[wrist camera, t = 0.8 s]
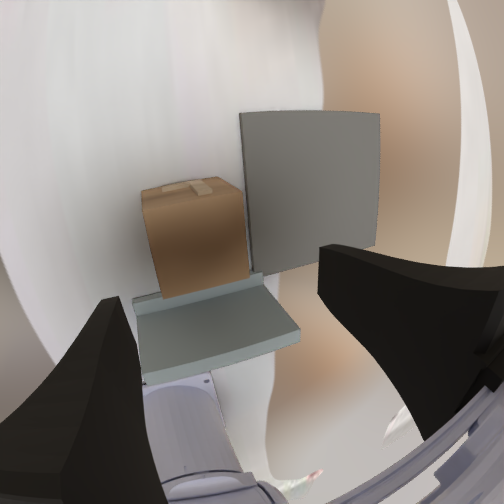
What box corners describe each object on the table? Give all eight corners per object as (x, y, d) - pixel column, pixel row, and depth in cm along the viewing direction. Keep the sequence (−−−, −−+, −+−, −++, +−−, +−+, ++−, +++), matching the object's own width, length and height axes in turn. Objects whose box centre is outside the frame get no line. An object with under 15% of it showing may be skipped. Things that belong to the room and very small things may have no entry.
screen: (261, 303, 22) (299, 353, 17) (144, 333, 20) (153, 396, 14) (259, 268, 21) (300, 315, 16) (132, 299, 18) (135, 361, 13)
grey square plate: (371, 243, 24) (374, 245, 24) (253, 276, 21) (255, 278, 21) (376, 113, 19) (379, 113, 19) (239, 113, 16) (241, 112, 16)
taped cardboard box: (225, 245, 19) (249, 277, 16) (155, 261, 18) (163, 299, 14) (216, 172, 17) (241, 187, 13) (140, 187, 16) (141, 206, 12)
